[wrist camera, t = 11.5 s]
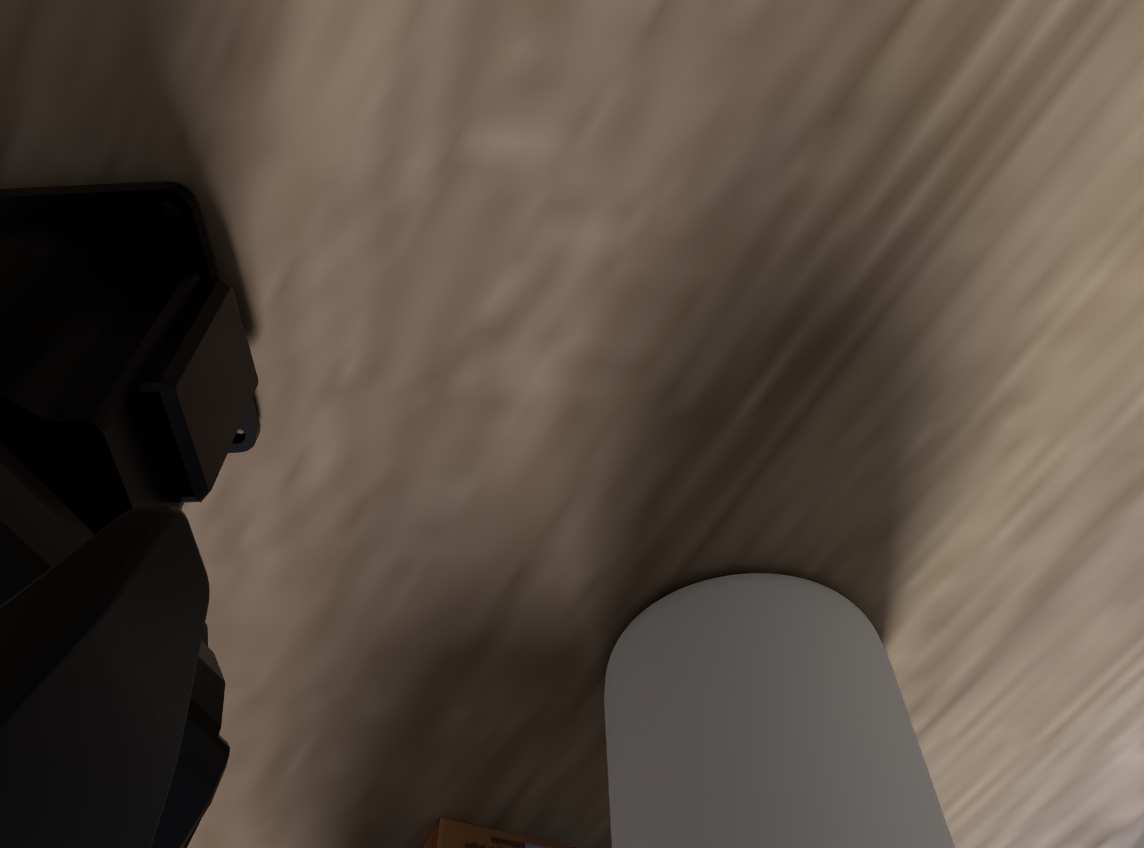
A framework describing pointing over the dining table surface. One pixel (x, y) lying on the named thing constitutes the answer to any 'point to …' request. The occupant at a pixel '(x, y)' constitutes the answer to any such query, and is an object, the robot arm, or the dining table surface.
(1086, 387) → the dining table surface
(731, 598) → the pill bottle
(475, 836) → the milk carton
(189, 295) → the robot arm
